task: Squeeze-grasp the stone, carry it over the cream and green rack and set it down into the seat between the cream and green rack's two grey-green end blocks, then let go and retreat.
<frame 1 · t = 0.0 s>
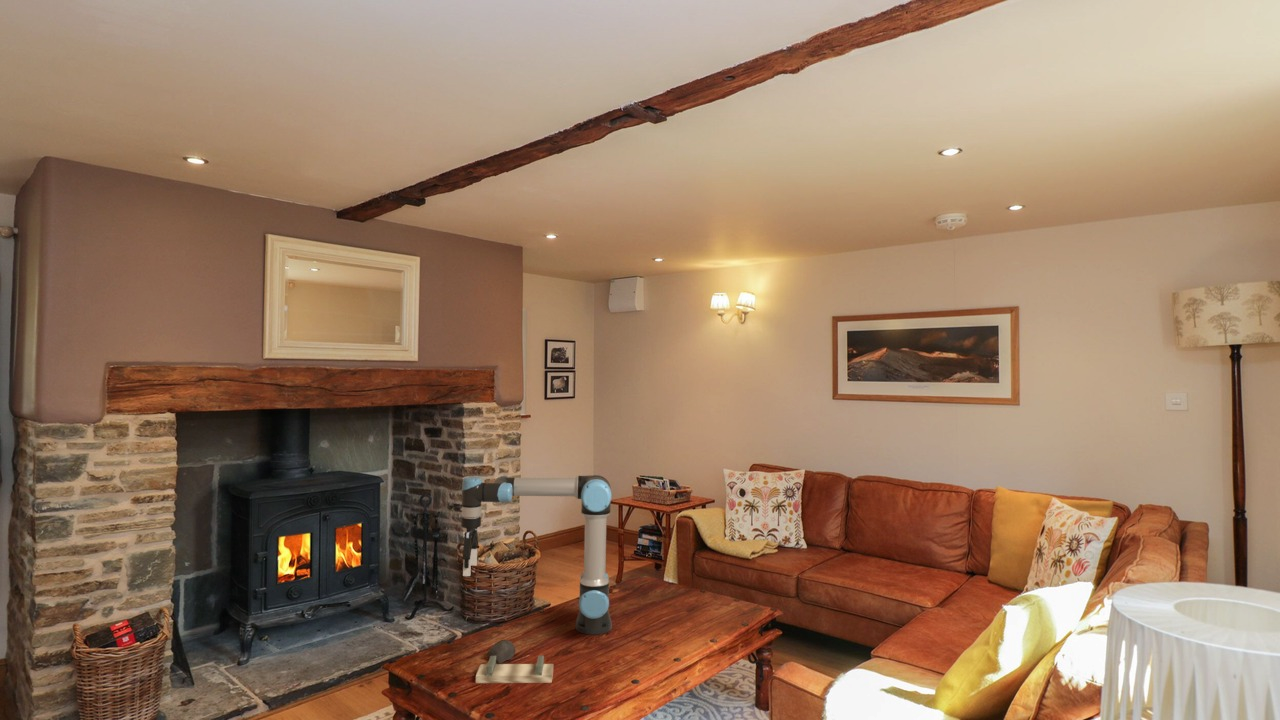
hand: (470, 570, 269), 28 cm above the table, fingers open, 13 cm apart
stone: (501, 659, 254), on the table
cream and green rack: (515, 676, 240), on the table
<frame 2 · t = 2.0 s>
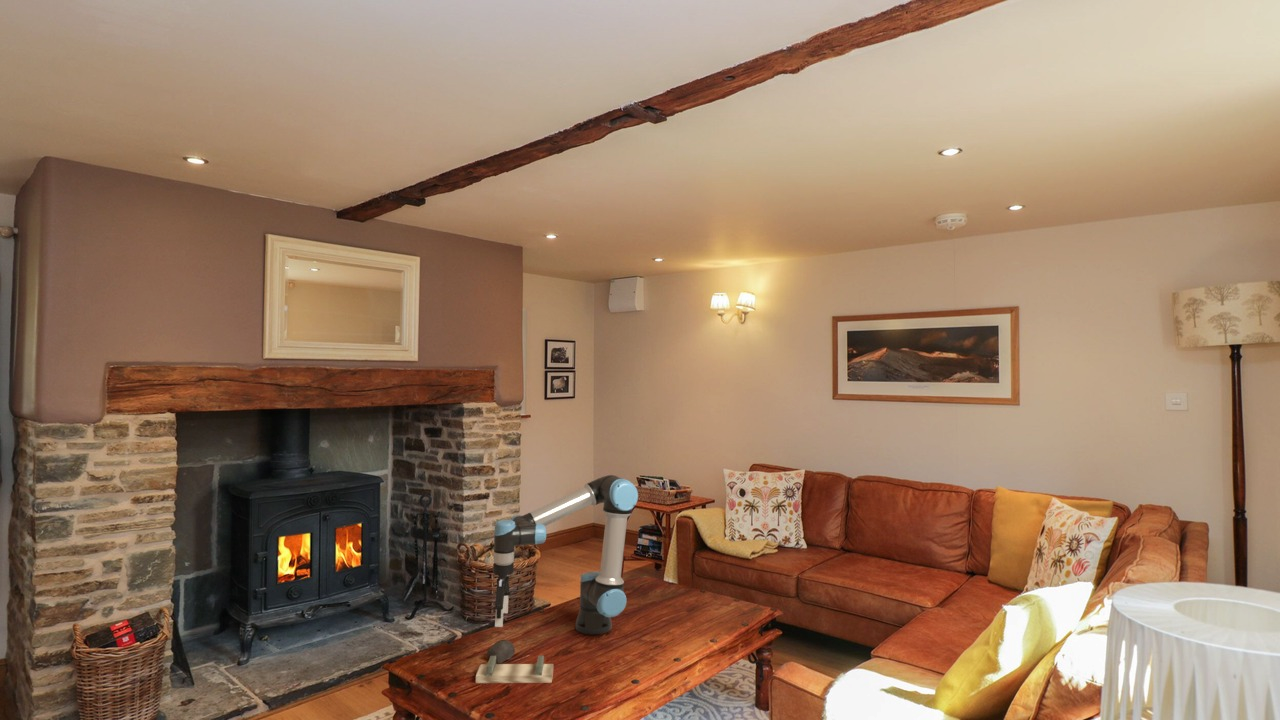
hand: (501, 619, 254), 15 cm above the table, fingers open, 13 cm apart
nothing on the table moved.
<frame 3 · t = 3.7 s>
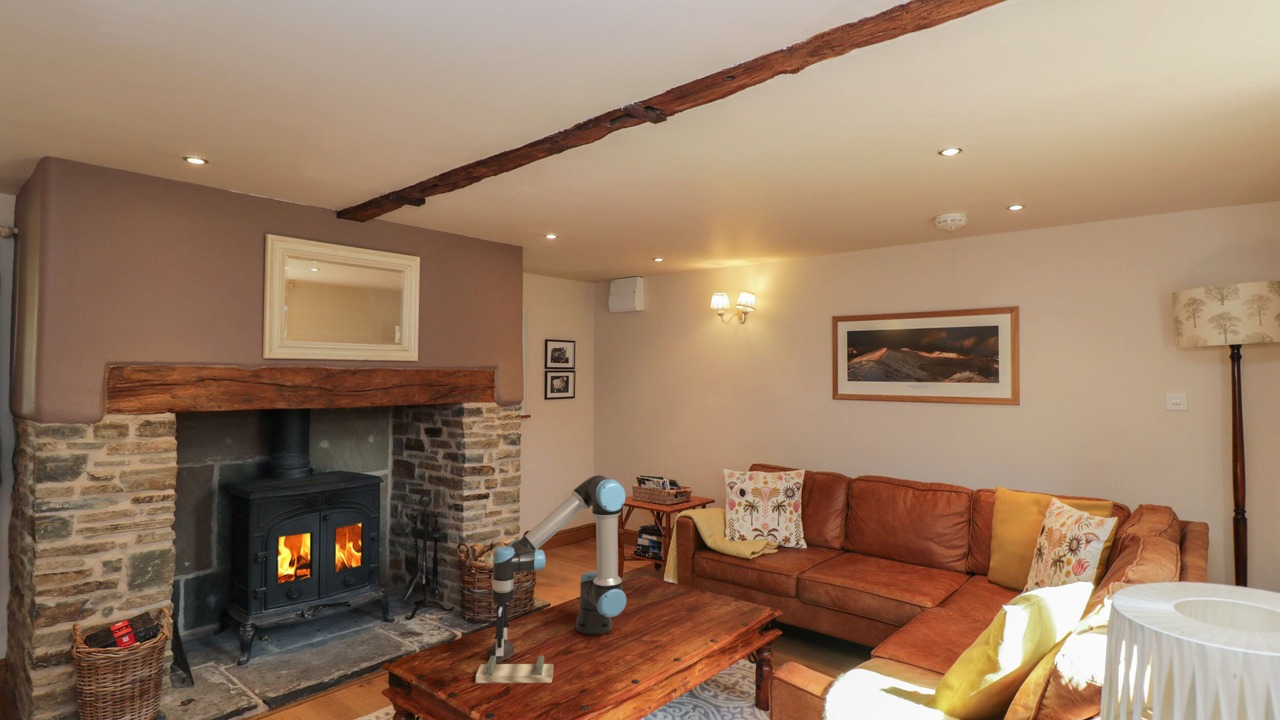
hand: (501, 650, 254), 3 cm above the table, fingers closed on stone, 8 cm apart
stone: (499, 658, 254), on the table, touching gripper
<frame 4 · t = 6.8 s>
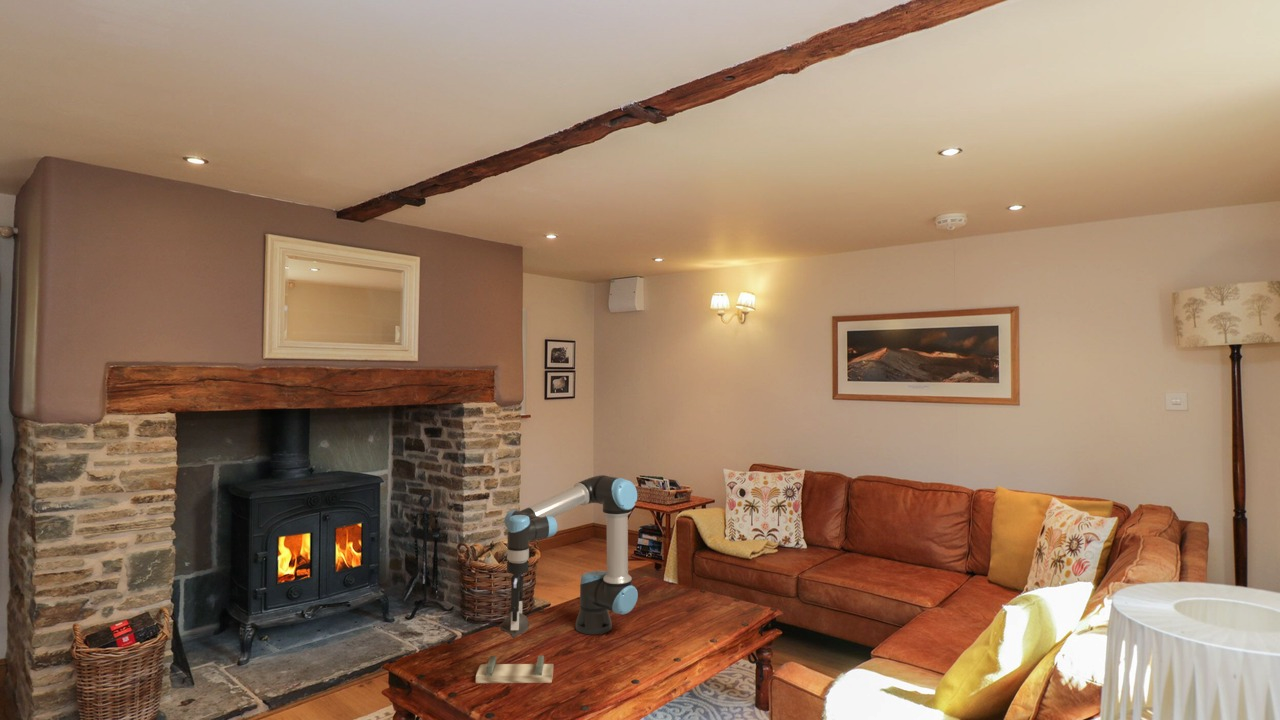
hand: (516, 624, 240), 18 cm above the table, fingers closed on stone, 8 cm apart
stone: (514, 633, 240), point 15 cm above the table, touching gripper
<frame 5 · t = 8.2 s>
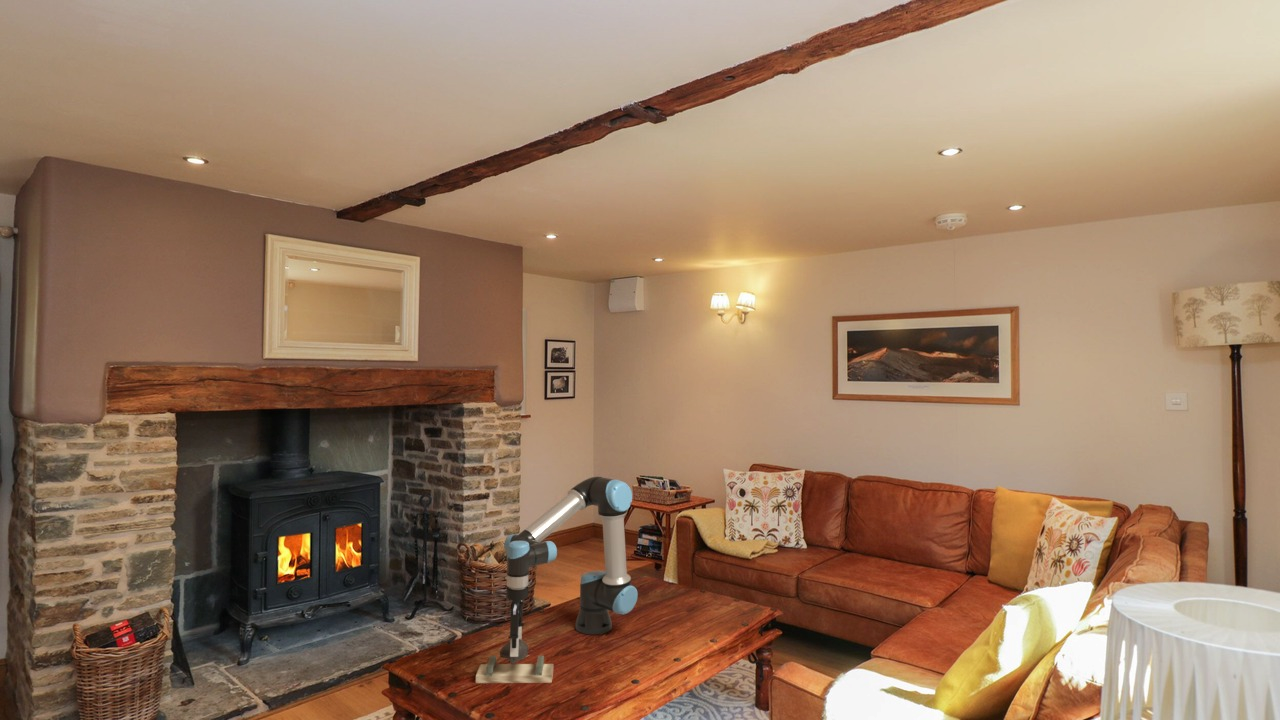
hand: (515, 650, 240), 9 cm above the table, fingers closed on stone, 8 cm apart
stone: (513, 659, 240), point 6 cm above the table, touching gripper
when the fingers open (7 cm above the table, at t = 9.6 s): stone drops 1 cm, resting on cream and green rack.
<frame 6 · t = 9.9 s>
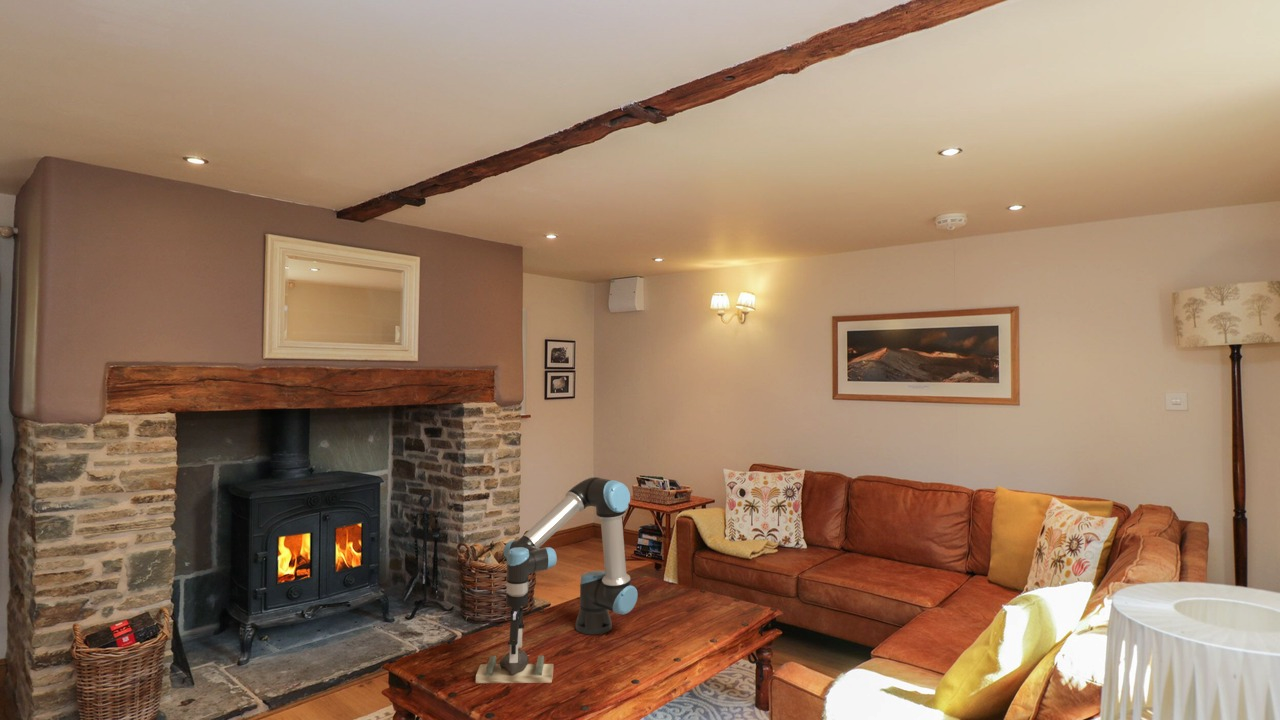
hand: (515, 654, 240), 8 cm above the table, fingers open, 12 cm apart
stone: (514, 669, 240), point 2 cm above the table, touching cream and green rack
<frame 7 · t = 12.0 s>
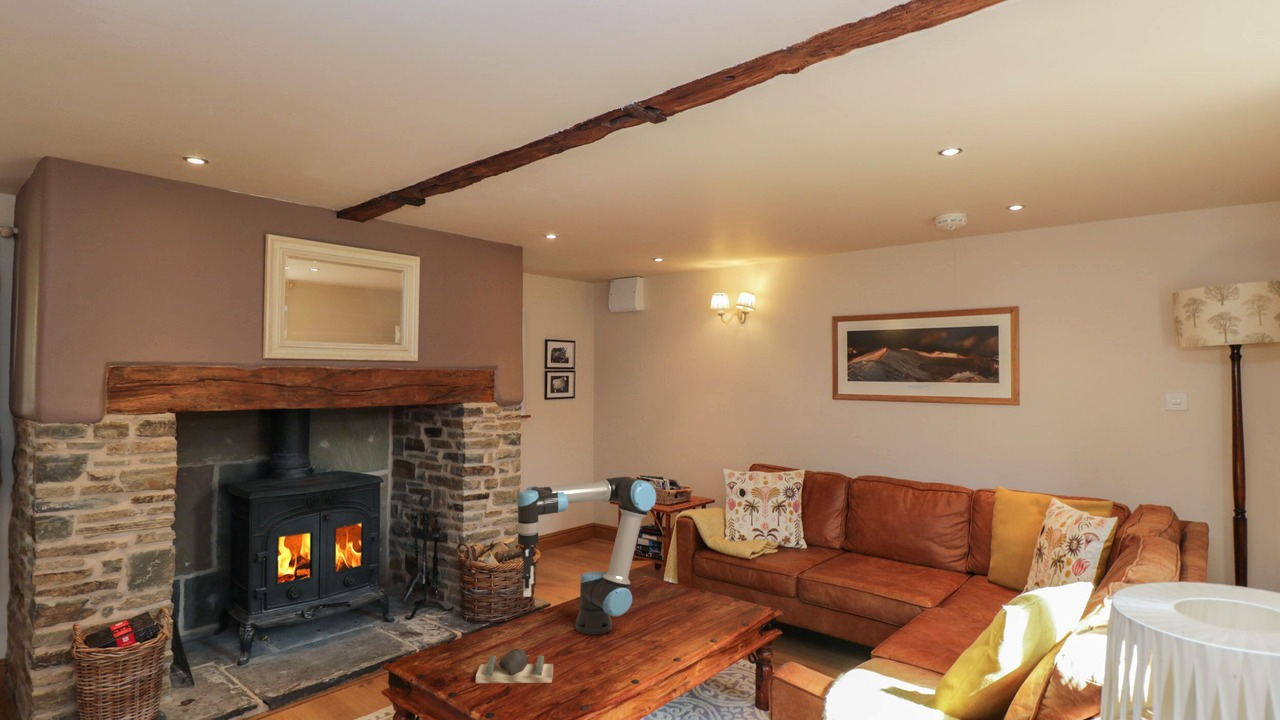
hand: (528, 589, 253), 26 cm above the table, fingers open, 13 cm apart
nothing on the table moved.
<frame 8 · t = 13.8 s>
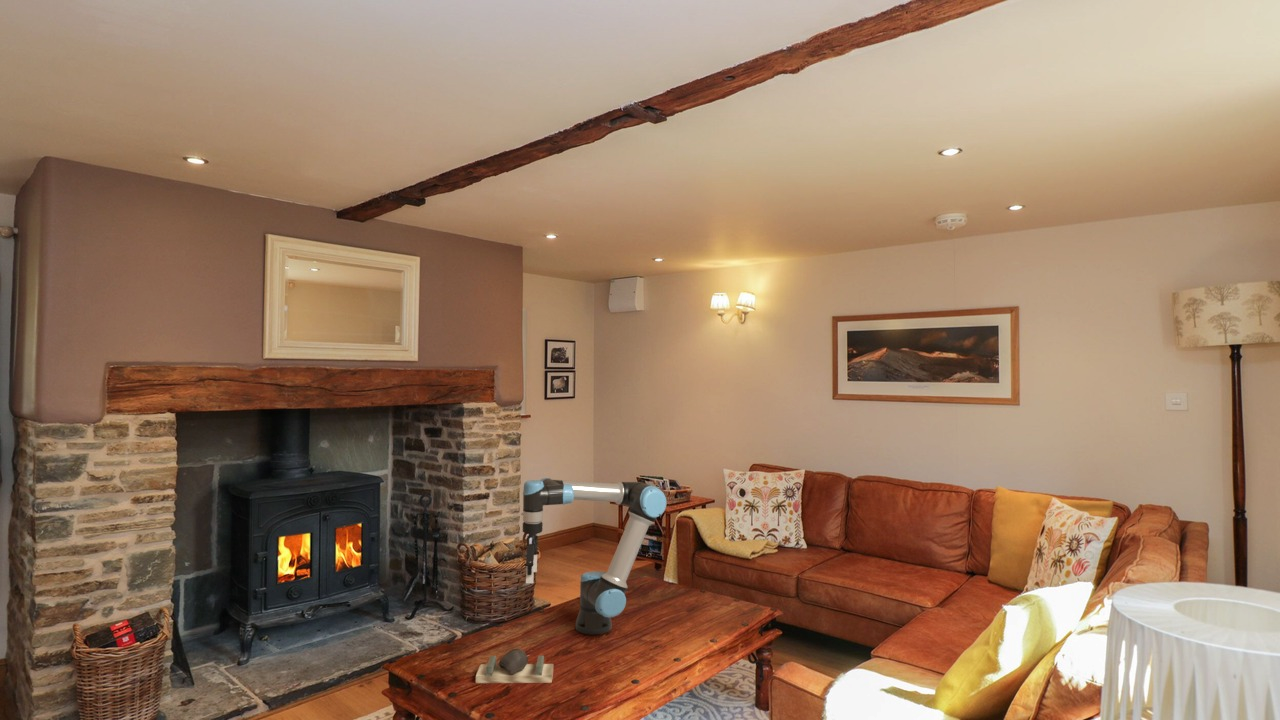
hand: (531, 577, 260), 29 cm above the table, fingers open, 13 cm apart
nothing on the table moved.
at the end: stone 1.1 cm from the cream and green rack (horizontally); stone touching cream and green rack; the gripper is holding nothing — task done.
